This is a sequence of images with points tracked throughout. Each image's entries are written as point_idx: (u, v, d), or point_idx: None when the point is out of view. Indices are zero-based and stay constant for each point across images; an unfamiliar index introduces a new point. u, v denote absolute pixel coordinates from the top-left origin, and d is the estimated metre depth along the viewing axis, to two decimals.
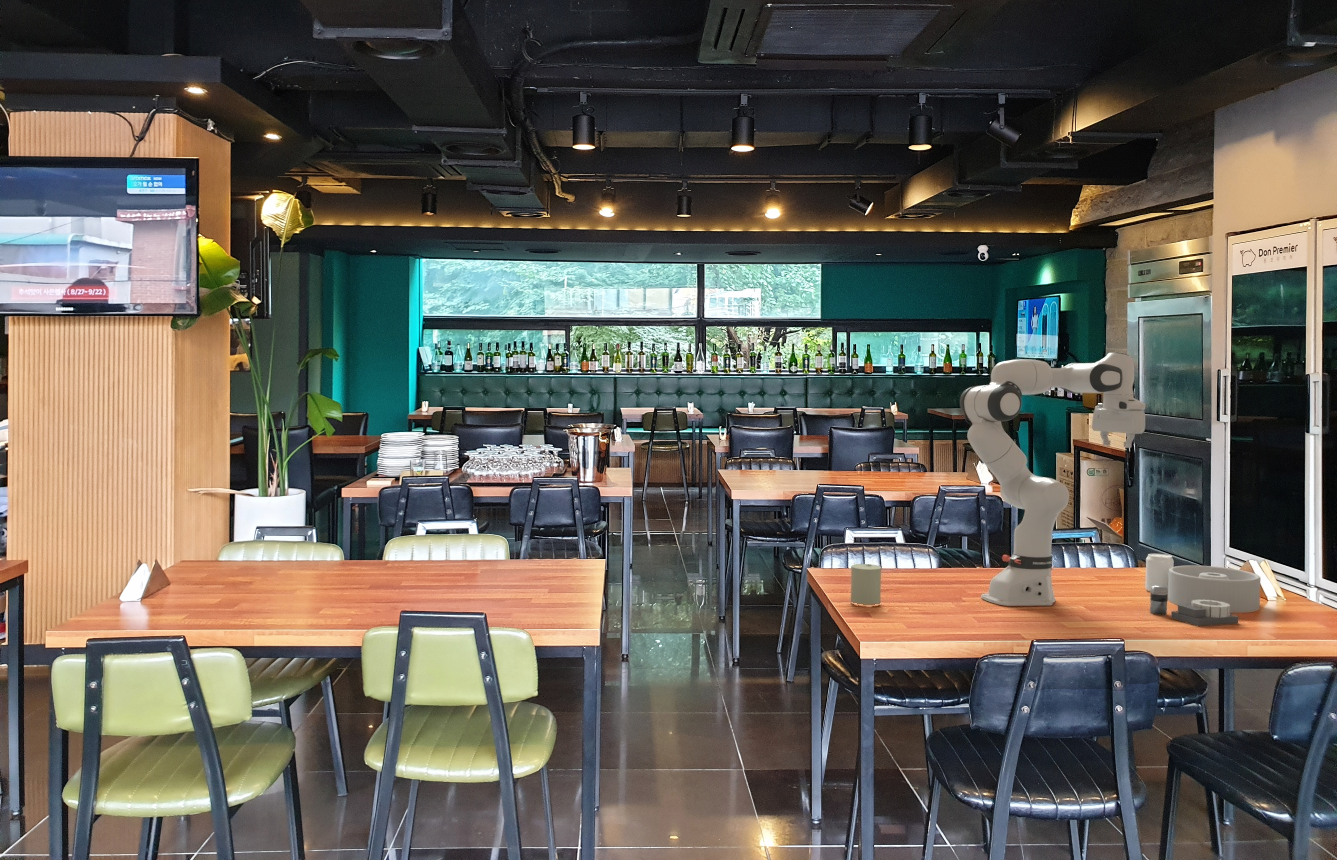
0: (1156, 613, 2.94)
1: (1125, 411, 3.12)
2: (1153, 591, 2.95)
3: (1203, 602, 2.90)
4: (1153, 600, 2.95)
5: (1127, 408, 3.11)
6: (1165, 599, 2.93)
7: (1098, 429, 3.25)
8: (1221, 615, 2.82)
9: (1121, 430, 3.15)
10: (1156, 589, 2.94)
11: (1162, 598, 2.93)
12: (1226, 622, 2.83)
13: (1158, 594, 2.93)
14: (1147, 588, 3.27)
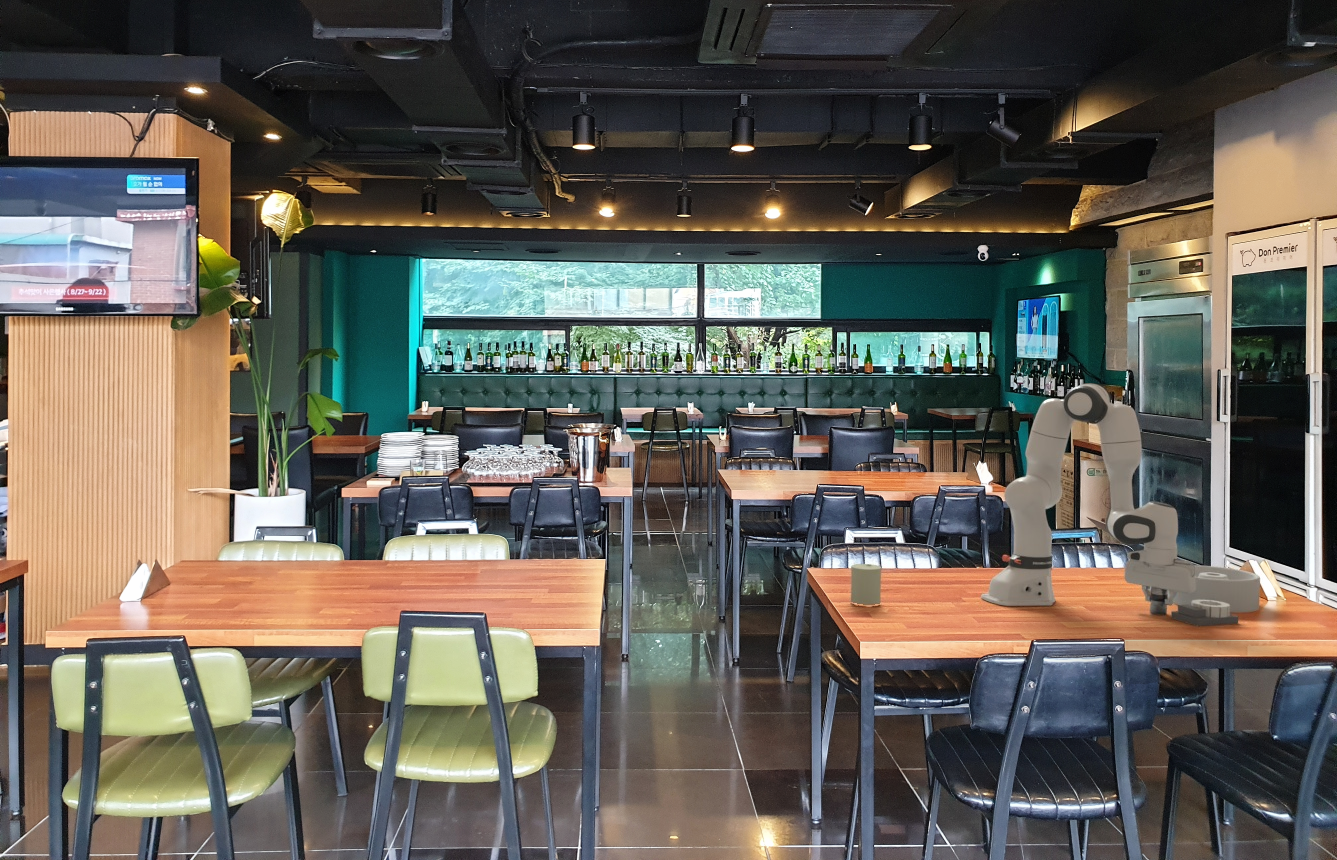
0: (1156, 613, 2.94)
1: None
2: (1153, 591, 2.95)
3: (1203, 602, 2.90)
4: (1153, 600, 2.95)
5: None
6: None
7: None
8: (1221, 615, 2.82)
9: None
10: (1156, 589, 2.94)
11: (1162, 597, 2.93)
12: (1226, 622, 2.83)
13: (1158, 594, 2.93)
14: None
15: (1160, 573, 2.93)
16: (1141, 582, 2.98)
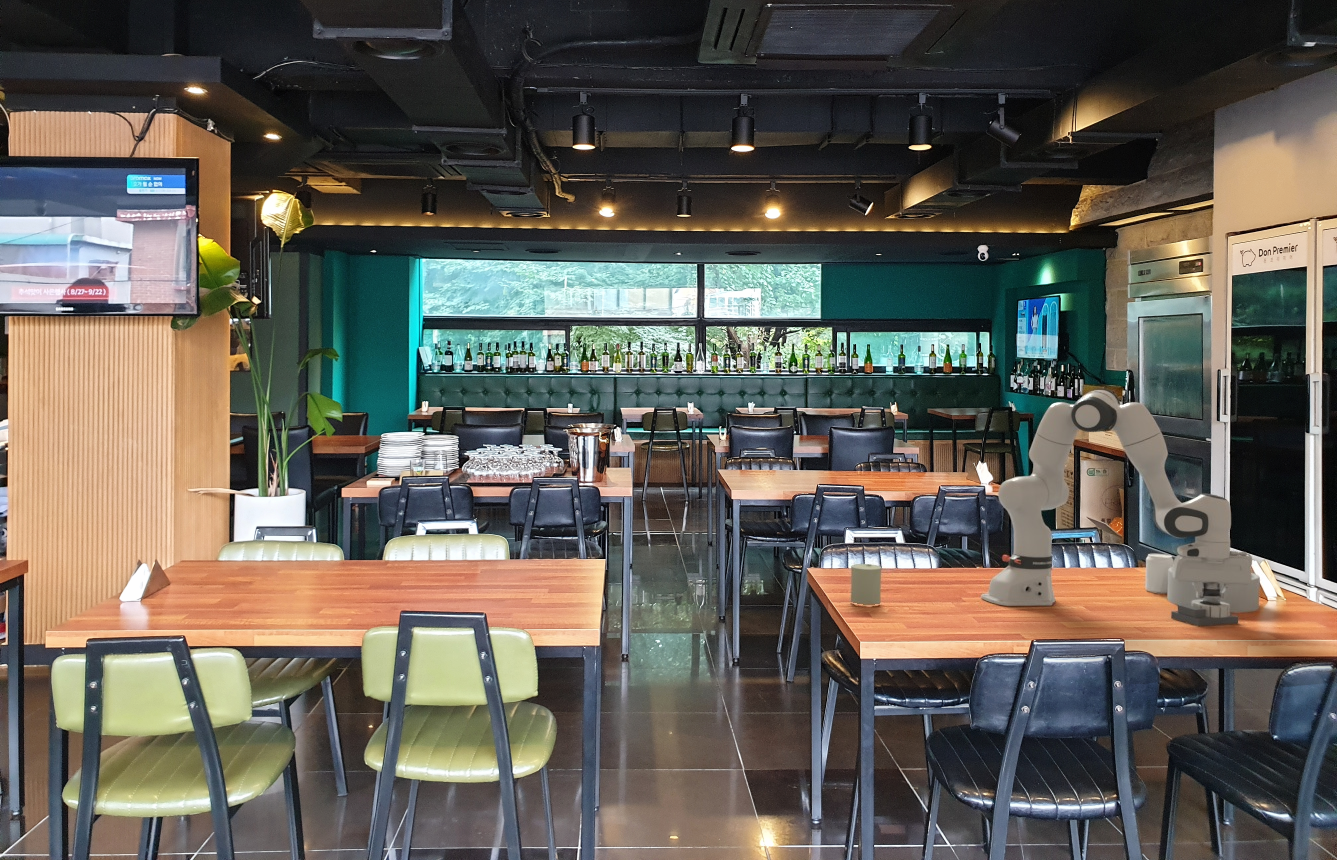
0: None
1: None
2: (1210, 586, 2.85)
3: None
4: (1210, 596, 2.85)
5: None
6: None
7: None
8: (1221, 615, 2.82)
9: None
10: (1214, 583, 2.85)
11: (1219, 592, 2.85)
12: (1226, 622, 2.83)
13: (1216, 588, 2.85)
14: (1147, 588, 3.27)
15: (1217, 567, 2.85)
16: (1196, 579, 2.87)
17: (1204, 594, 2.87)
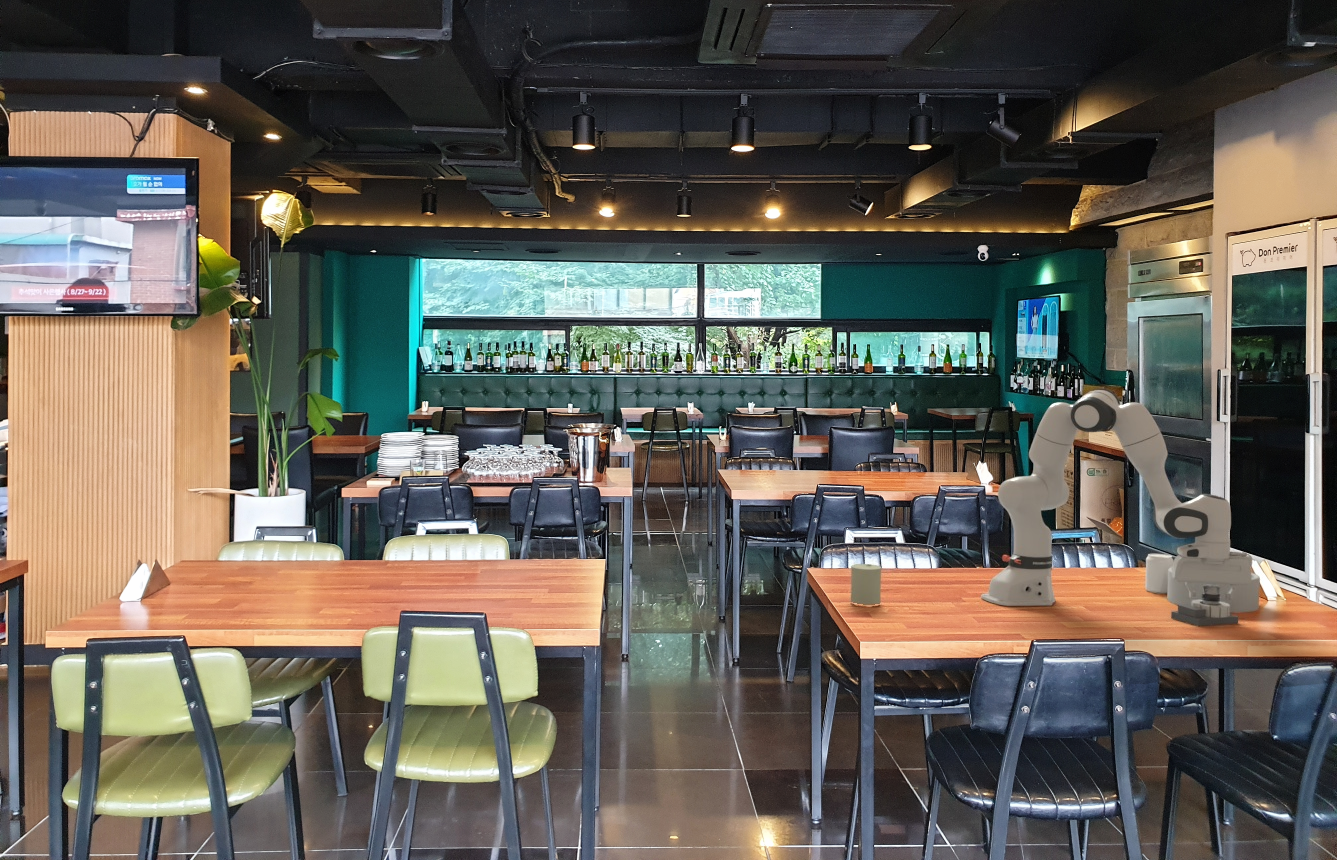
0: None
1: None
2: (1210, 592, 2.85)
3: None
4: (1210, 601, 2.85)
5: None
6: (1219, 598, 2.86)
7: None
8: (1221, 615, 2.82)
9: None
10: (1214, 589, 2.84)
11: (1219, 597, 2.85)
12: (1226, 622, 2.83)
13: (1216, 593, 2.84)
14: (1147, 588, 3.27)
15: (1217, 567, 2.85)
16: (1196, 579, 2.86)
17: (1204, 599, 2.86)
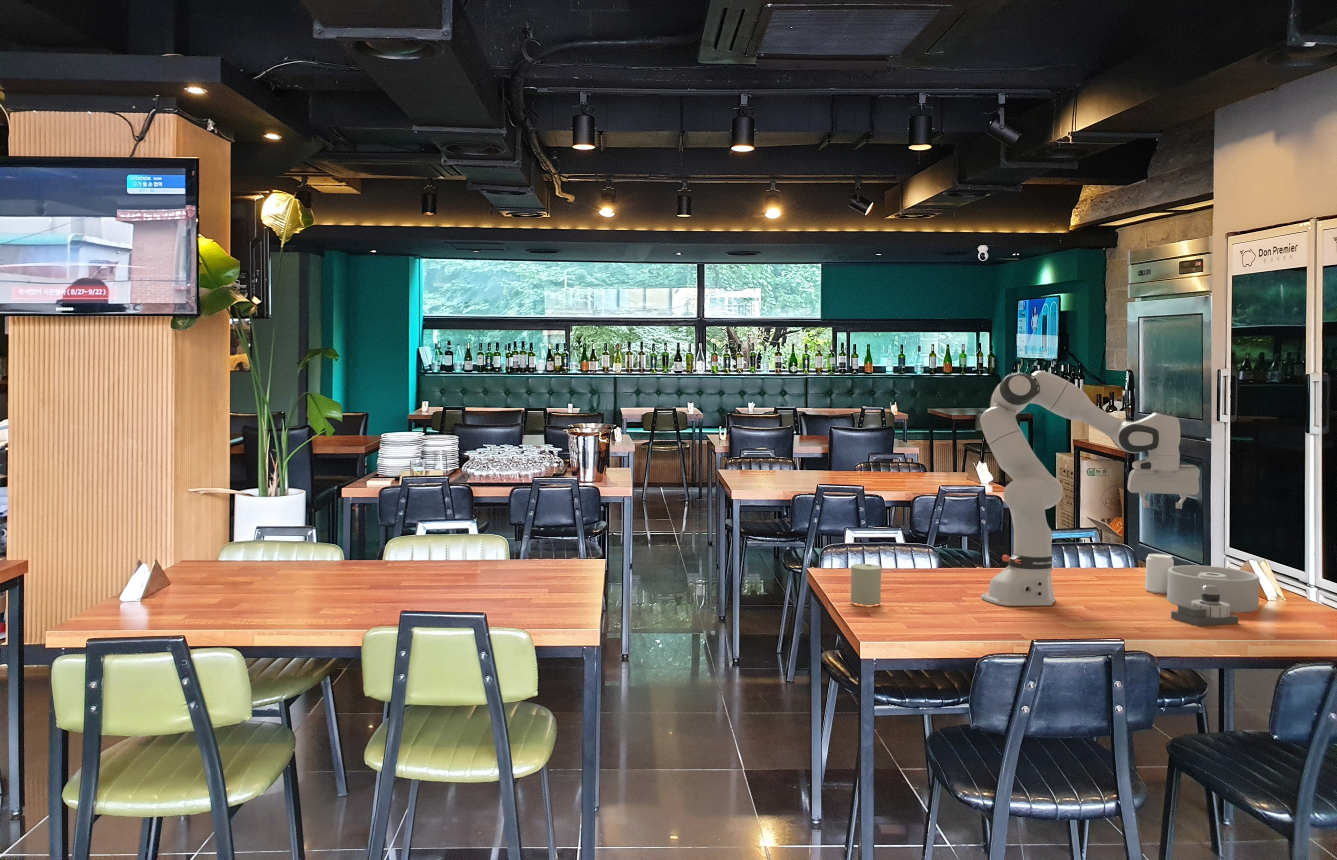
0: None
1: None
2: (1210, 592, 2.85)
3: None
4: (1210, 601, 2.85)
5: None
6: (1219, 598, 2.86)
7: None
8: (1221, 615, 2.82)
9: None
10: (1214, 589, 2.84)
11: (1219, 597, 2.85)
12: (1226, 622, 2.83)
13: (1216, 594, 2.84)
14: (1147, 588, 3.27)
15: (1168, 479, 3.12)
16: (1149, 490, 3.13)
17: (1204, 599, 2.86)
